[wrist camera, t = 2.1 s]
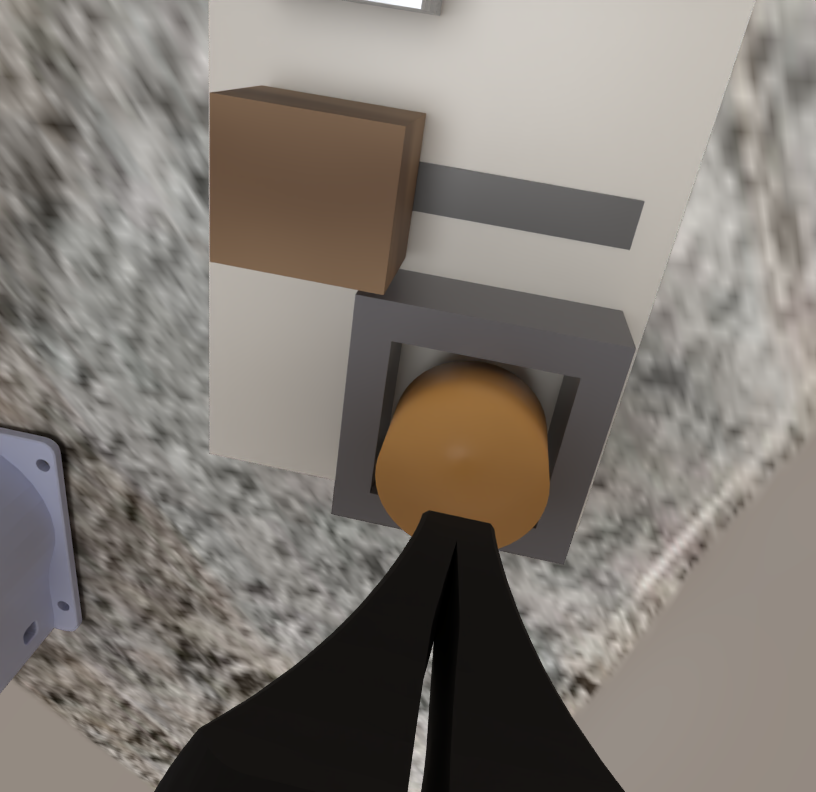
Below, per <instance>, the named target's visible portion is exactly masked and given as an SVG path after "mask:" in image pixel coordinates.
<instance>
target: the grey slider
mask: <svg viewBox="0 0 816 792" xmlns="http://www.w3.org/2000/svg"><path fill="white" fill-rule="evenodd" d="M342 1H349V2H355V3H361V4H367V5H374V6H380V7H386V8H393V9H399V10H405V11H411V12H418V13H424V14H430V15H436V16H440V14H441V7H442V0H342Z"/></svg>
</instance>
